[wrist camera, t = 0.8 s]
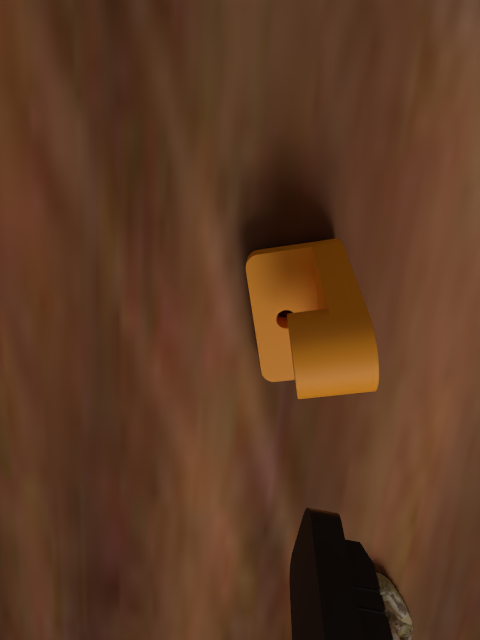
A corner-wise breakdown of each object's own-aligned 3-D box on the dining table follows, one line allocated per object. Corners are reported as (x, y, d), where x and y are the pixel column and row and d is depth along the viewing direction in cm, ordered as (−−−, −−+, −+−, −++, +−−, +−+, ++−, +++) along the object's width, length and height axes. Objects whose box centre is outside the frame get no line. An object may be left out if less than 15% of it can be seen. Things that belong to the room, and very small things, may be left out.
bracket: (245, 249, 33) (235, 292, 22) (336, 236, 32) (374, 273, 21) (263, 368, 37) (262, 457, 25) (345, 358, 36) (382, 446, 25)
